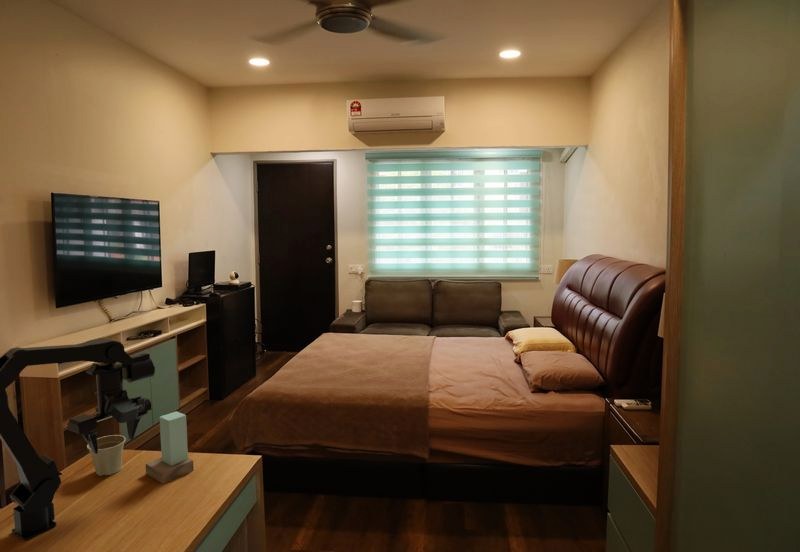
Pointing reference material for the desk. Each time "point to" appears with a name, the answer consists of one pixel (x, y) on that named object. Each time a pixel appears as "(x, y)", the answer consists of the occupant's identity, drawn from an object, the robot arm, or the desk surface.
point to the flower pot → (108, 454)
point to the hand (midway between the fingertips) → (114, 446)
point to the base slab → (168, 469)
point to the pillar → (173, 438)
